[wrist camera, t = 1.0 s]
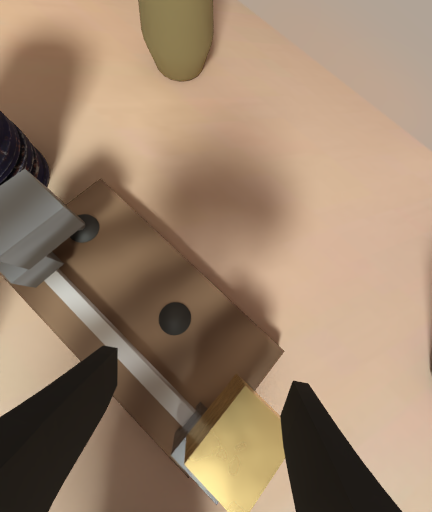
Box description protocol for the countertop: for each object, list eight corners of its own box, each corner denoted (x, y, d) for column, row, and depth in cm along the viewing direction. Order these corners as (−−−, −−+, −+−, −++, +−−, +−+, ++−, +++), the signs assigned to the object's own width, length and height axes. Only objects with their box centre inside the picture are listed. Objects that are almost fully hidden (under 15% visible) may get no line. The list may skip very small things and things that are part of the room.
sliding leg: (266, 399, 19) (298, 437, 13) (213, 472, 17) (222, 553, 11) (230, 364, 19) (245, 385, 13) (175, 431, 18) (164, 489, 12)
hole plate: (278, 348, 22) (324, 366, 14) (189, 465, 19) (184, 569, 11) (106, 186, 24) (64, 126, 17) (4, 266, 21) (-104, 238, 14)
